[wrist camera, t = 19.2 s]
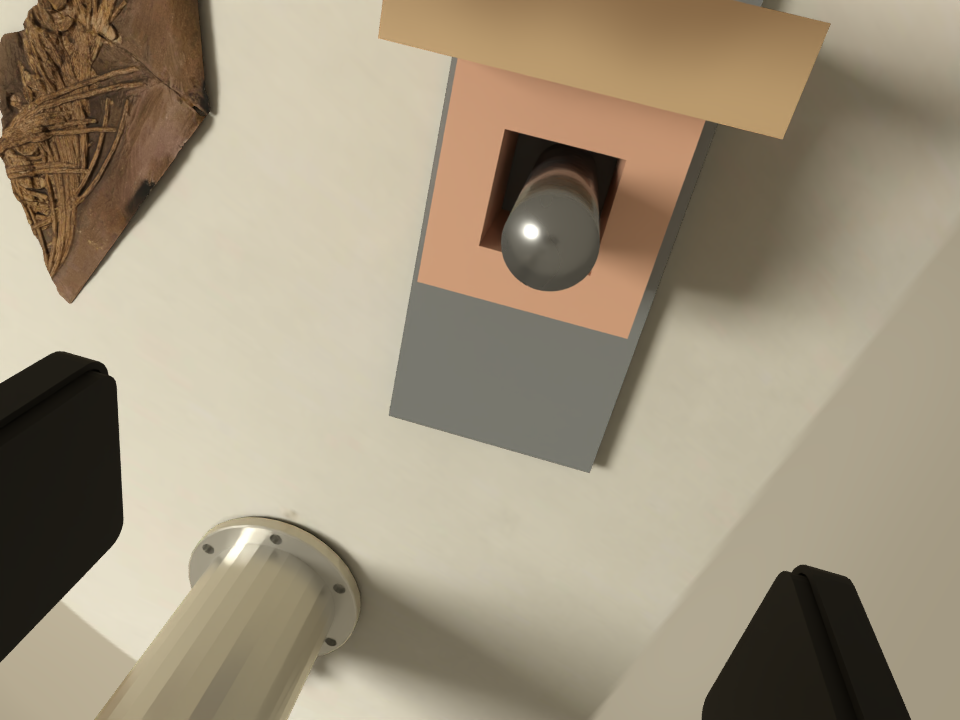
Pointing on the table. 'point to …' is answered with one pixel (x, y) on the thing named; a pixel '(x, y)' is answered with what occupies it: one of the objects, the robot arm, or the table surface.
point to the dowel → (555, 221)
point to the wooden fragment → (95, 118)
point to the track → (521, 344)
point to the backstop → (632, 50)
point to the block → (485, 172)
